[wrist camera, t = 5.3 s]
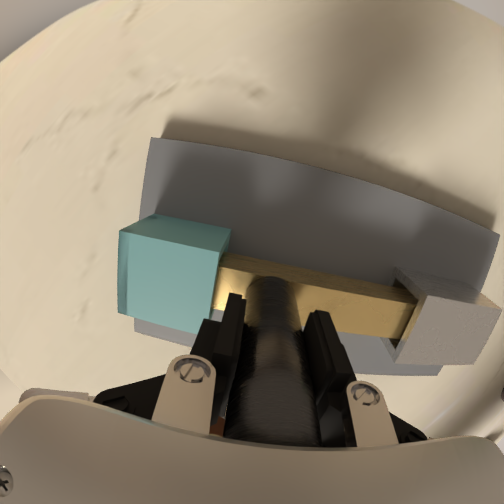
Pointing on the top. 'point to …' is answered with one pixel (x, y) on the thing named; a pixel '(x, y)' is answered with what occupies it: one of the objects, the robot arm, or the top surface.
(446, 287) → the steel sleeve
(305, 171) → the slate board
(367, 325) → the multicoloured piece
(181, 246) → the teal socket
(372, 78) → the top surface
